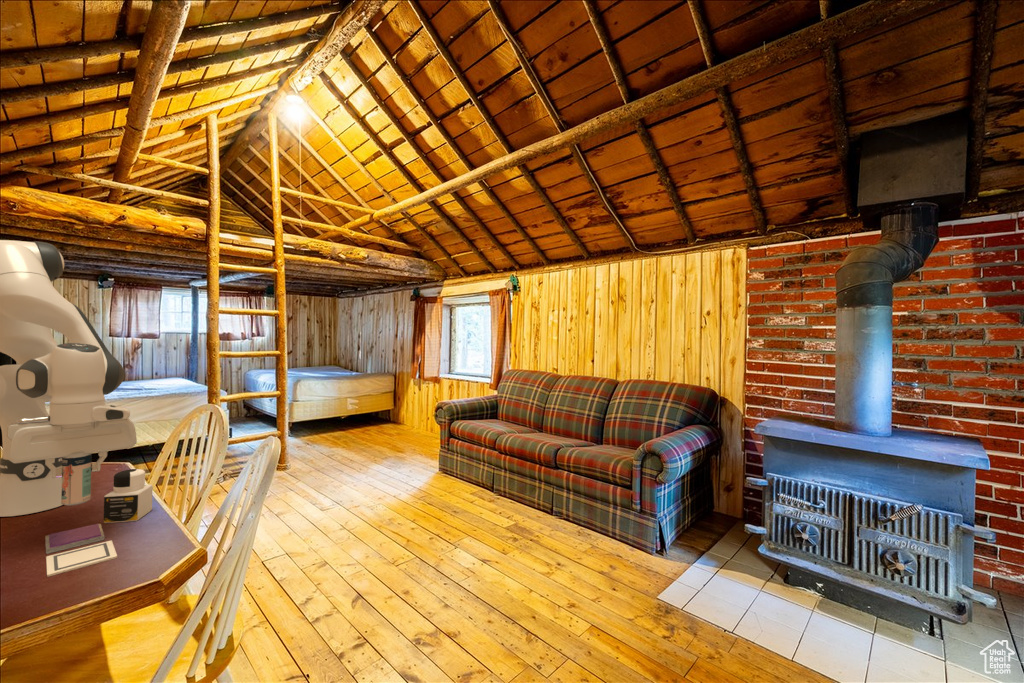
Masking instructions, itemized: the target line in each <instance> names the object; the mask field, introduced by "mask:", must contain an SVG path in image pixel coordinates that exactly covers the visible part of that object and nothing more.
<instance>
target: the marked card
mask: <svg viewBox="0 0 1024 683" xmlns="http://www.w3.org/2000/svg"><path fill="white" fill-rule="evenodd" d="M117 558H118V554H117V551H116V548H115V545H114V543H113V540H107V541H104V542H99V543H94V544H92V545H88V546H84V547H80V548H75V549H72V550H67V551H63V552H59V553H54V554H51V555H47V556H45V560H46V577H49V578H50V577H51V576H55V575H60V574H62V573H67V572H70V571H74V570H77V569H81V568H85V567H88V566H92V565H95V564H99V563H100V564H101V563H103V562H107V561H111V560H115V559H117Z"/></svg>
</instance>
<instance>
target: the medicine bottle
mask: <svg viewBox="0 0 1024 683" xmlns="http://www.w3.org/2000/svg"><path fill="white" fill-rule="evenodd" d="M153 487H154V486H153V484H146V471H145V470H144V469H140V468H132V469H130V468H129V469H125V470H121V471H119V472H117V473H115V474H114V475H113V487H112V488H113V491H110V492H109V493H107V494H105V495H104V496H103V524H115V523H126V522H127V523H128V522H137V521H139V520H140V519H141V518H143V517H144V516H146V515H147V514H148V513H150V512H151V511H152V510H153Z"/></svg>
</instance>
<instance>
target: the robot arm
mask: <svg viewBox="0 0 1024 683" xmlns="http://www.w3.org/2000/svg"><path fill="white" fill-rule="evenodd" d="M64 269H65V261H64V256H63V255H62V253H61V252H60V251H59V250H58V248H57V247H56V246H55V245H54V244H51V243H48V242H44V241H43V242H42V241H37V240H33V241H22V240H14V239H13V240H9V239H0V353H2V354H5V355H7V356H8V357H11V359H13V360H14V361H15V362H16V363H17V364H3V365H0V429H1V436H2V437H1V438H2V440H1V441H2V457H0V517H3V518H4V517H16V516H23V515H29V514H34V513H39V512H43V511H48V510H52V509H55V508H58V507H62V506H63V504H61V497H62V457H67V456H68V455H70V454H72V453H76V452H83V451H84V452H85V453H87V454H89V453H92V454H96V453H97V454H98V457H99V458H98V459H97V461H96V462H91V473H95V472H101V466H102V465H101V464H102V463H103V462H104V461H105V459H106V458H107V457H108V452H109V451H117V450H119V451H120V450H124V449H133V447H135V446H136V445H137V440H138V438H137V431H136V427H135V424H134V422H133V421H132V419H130V415H131V412H130V409H129V408H127V407H123V406H118V405H117V406H116V405H113V404H106V403H105V402H106V399H105V396H106V395H109V394H111V393H112V392H114V391H115V390H117V389H118V388H119V387H120V386H121V384H122V383H123V382H124V379H125V369H124V367H123V365H122V364H121V362H120V361H119V360H118V359H117V358H116V357H115V356H114V355H113V354H112V353H111V351H109V349H108V347H107V346H106V345H105V343H104V341H103V340H102V339H101V337H100V336H99V334H98V333H97V331H96V330H95V328H94V326H93V325H92V324H91V322H90V320H89V319H88V317H87V316H86V315H85V313H84V311H82V309H81V308H79V306H78V305H75V304H73V302H70V301H69V300H67V299H66V298H65V297H64V296H63V295H62V294H61V293H59V291H58V290H57V289H56V288H55V287H54V284H53V283H52V282H54V281H56V280H57V279H59V278H60V277H61V276H62V275H63V273H64ZM51 330H53V331H57V333H60V334H62V335H63V336H65V337H66V338H67V339H68V342H69V343H68V342H67V343H61V344H59V343H58V342H57V341H56V340H55V338H54V336H53V334H52V331H51ZM46 403H49V413H48V411H47V407H46Z"/></svg>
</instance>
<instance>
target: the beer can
mask: <svg viewBox="0 0 1024 683" xmlns="http://www.w3.org/2000/svg"><path fill="white" fill-rule="evenodd" d="M92 454H93V453H89V454H87V453H85V452H84V451H83V452H76V453H72V454H70V455H68V456H67V457H62V497H61V504H63V505H64V506H69V507H70V506H71V507H72V506H77V505H82V504H85V503H87V502H88V501H90V500H91V499H92V472H91V468H92V467H91V463H92V459H93V458H92ZM63 505H62V506H63Z"/></svg>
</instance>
